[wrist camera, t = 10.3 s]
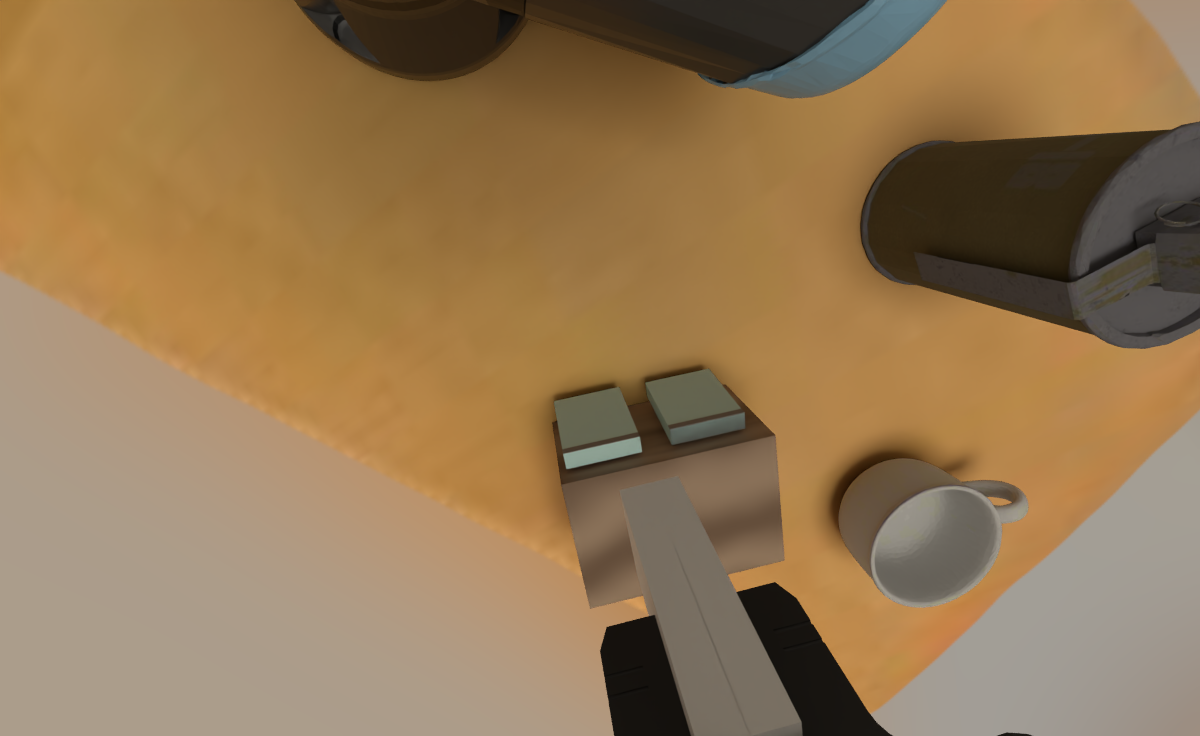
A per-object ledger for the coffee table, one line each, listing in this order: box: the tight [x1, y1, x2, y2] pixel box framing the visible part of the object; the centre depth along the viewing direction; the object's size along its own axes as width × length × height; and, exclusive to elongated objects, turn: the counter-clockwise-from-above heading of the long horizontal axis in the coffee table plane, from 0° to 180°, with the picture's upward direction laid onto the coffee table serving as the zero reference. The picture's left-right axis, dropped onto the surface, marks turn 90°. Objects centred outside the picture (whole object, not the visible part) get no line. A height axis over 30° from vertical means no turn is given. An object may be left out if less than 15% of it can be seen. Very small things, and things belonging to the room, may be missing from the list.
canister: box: [861, 122, 1200, 349], centre depth 33 cm, size 11×10×20 cm
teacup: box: [839, 458, 1028, 607], centre depth 47 cm, size 14×11×8 cm
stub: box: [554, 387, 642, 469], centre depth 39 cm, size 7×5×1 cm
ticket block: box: [552, 385, 785, 609], centre depth 41 cm, size 10×14×9 cm
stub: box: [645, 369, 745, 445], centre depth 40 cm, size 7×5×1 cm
